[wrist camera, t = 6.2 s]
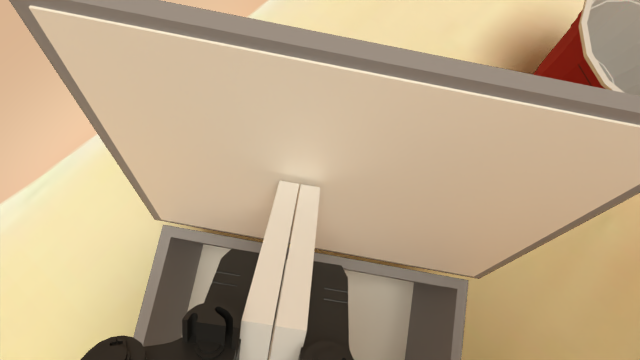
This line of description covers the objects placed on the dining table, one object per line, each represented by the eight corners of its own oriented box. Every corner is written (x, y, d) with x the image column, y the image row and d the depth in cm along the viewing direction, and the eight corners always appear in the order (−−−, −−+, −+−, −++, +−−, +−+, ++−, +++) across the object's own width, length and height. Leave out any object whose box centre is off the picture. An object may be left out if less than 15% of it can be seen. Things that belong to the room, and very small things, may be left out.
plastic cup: (471, 125, 35) (562, 55, 23) (518, 32, 37) (622, -74, 26) (581, 186, 34) (730, 146, 23) (622, 87, 37) (776, 5, 25)
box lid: (479, 280, 22) (478, 268, 23) (749, 137, 10) (740, 115, 10) (154, 220, 22) (158, 209, 22) (-2, -12, 9) (13, -29, 10)
